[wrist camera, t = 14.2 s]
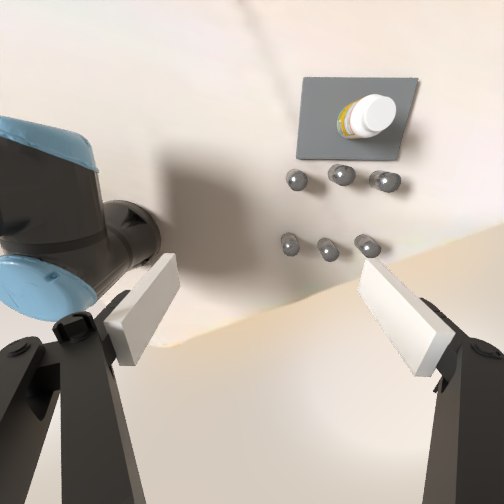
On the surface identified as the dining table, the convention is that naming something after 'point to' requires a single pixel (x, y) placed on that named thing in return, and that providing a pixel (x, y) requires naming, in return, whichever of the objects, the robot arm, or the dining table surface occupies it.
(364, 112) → the supplement bottle
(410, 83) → the slate mat
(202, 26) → the dining table surface
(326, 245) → the spacer field
